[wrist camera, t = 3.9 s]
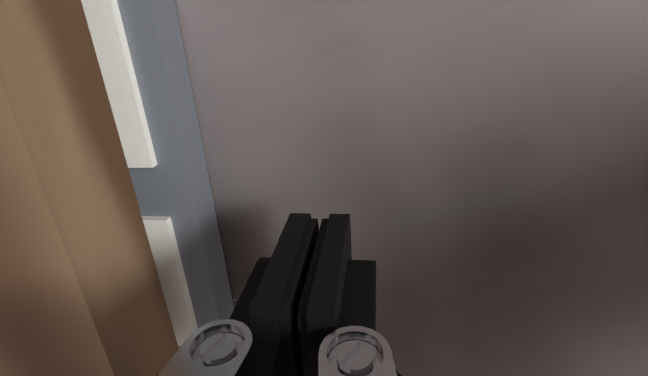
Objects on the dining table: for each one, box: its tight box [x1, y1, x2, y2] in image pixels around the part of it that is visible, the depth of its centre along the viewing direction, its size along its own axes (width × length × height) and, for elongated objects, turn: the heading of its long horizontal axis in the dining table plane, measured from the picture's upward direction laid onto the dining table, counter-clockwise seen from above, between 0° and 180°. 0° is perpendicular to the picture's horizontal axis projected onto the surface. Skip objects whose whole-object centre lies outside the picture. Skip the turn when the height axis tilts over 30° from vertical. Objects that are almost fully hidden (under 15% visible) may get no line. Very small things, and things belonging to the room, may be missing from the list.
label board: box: [81, 0, 234, 348], centre depth 15 cm, size 12×22×2 cm, turn 3°
